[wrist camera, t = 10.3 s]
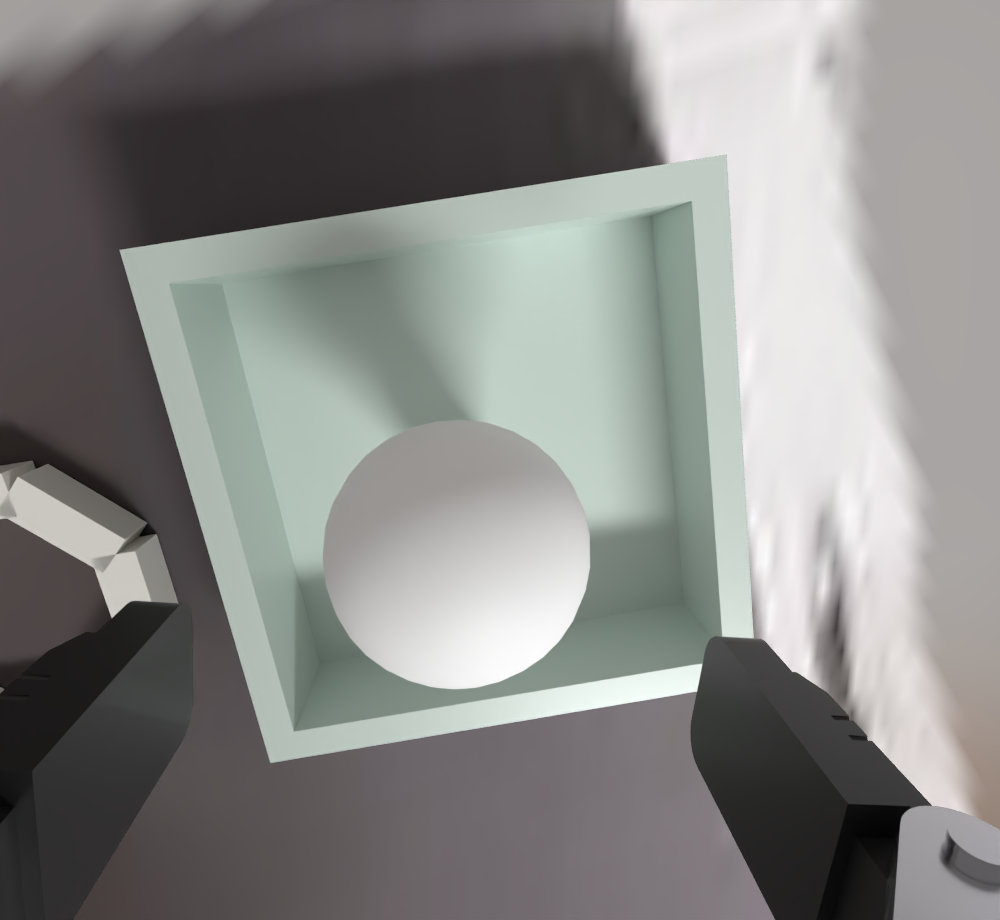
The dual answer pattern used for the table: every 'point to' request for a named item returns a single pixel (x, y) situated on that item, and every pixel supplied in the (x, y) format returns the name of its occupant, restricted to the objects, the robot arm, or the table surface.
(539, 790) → the table surface
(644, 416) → the bin
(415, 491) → the lightbulb
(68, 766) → the robot arm
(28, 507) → the socket collar
